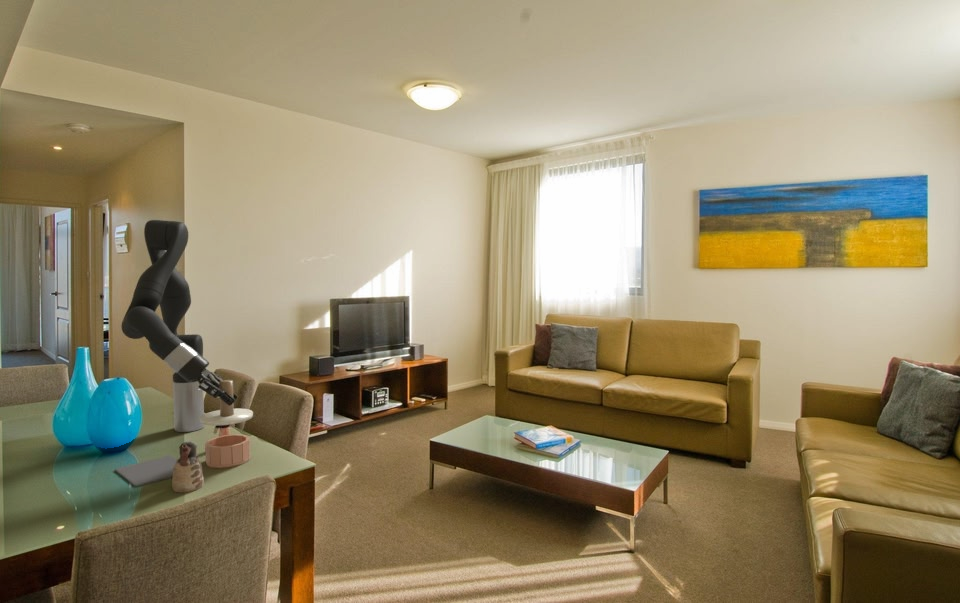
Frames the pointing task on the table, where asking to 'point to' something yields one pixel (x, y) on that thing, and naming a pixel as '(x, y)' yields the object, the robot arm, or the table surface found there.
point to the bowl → (227, 451)
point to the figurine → (187, 470)
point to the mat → (148, 471)
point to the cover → (226, 410)
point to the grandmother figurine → (223, 429)
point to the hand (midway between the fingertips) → (233, 401)
